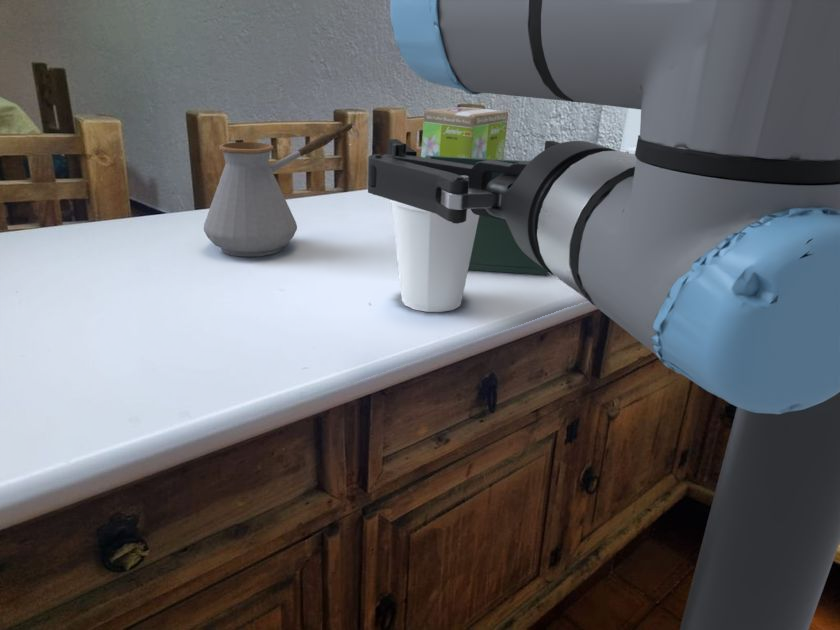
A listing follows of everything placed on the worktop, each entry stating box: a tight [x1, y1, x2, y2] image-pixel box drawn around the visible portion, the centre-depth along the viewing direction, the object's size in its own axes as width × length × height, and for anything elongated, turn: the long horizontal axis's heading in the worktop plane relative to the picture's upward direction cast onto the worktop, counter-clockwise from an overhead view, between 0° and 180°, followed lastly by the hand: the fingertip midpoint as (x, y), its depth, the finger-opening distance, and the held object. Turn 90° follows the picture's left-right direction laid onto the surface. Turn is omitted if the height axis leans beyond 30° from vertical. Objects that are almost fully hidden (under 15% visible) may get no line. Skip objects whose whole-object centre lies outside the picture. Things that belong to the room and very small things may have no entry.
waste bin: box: [425, 155, 548, 276], centre depth 85 cm, size 17×17×11 cm
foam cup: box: [388, 199, 479, 313], centre depth 67 cm, size 10×9×13 cm
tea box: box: [420, 106, 509, 160], centre depth 118 cm, size 15×10×15 cm, turn 151°
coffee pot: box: [203, 123, 360, 258], centre depth 84 cm, size 21×12×15 cm, turn 127°
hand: (471, 156), depth 54 cm, fingers open, 13 cm apart
